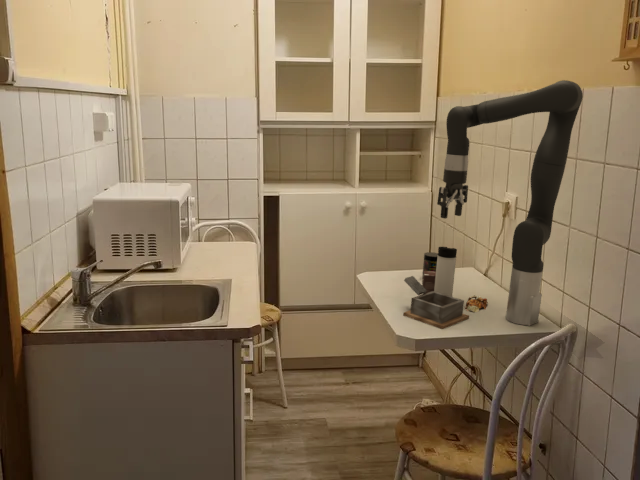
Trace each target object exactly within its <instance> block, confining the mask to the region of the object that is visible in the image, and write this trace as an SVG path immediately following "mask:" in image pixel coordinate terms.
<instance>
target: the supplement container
mask: <svg viewBox="0 0 640 480" xmlns="http://www.w3.org/2000/svg"><path fill="white" fill-rule="evenodd" d="M437 257H438V252H431V251H430V252H424V253H423V263H422V264H423V265H422V274H421V279H422V280H423V271H434V272H436V267H437Z"/></svg>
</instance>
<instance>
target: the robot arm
mask: <svg viewBox="0 0 640 480" xmlns="http://www.w3.org/2000/svg"><path fill="white" fill-rule="evenodd" d="M583 95H584V94H583V90H582V88H581V86H580V85H579V84H578V83H576V82H574V81H571V80H568V79H567V80H565V79H562V80H559V81H556V82H555V83H552V84H549V85H547V86H543V87H541V88H539V89H537V90H533V91H529V92H525V93H521V94H517V95H510V96H505V97H499V98H495V99H489V100H484V101H482V102H479V103H478V104H473V105H467V106H466V105H465V106H459V105H458V106H454V107H452V108H451V109H450V110H449V112H448V113H447V117H446V136H447V145H446V146H447V147H446V154H445V159H444V167H443V168H444V169H443V177H442V178H443V179H442V181H443V183H445V187H443V186H439V188H438V196H437V203H436V204H437V205H438V206H440V218H441V219H448V216H449V215H448V214H449V206H450V204H451V203H452V202H453V201H455V208H454V215H455V216H457V217H461V216H462V212H463V206H464V204H465V203H467V202H468V194H469V193H468V192H469V191H468V190H469V186H468V185H467V184H466V183H467V177H468V171H469V170H468V168H469V153H470V138H468V136H467V134H468V129H469V128H473V127H477V126H480V125H485V124H486V125H487V124H493V123H497V122H498V123H499V122H503V121H507V120H511V119H515V118H519V117H522V116H526V115H530V114H535V113H538V114H539V113H549V115H548V120H547V124H546V129H545V130H544V134H543V136H542V138H541V140H540V142H539V145H538V146H537V149H536V152H535V155H534V159H533V162H532V167H531V171H530V172H531V173H530V193H531V194H530V195H531V198H530V206H529V208H528V213H527V216H526V218H525V220H523V221H521V222H519V224H517V225H516V227H515V228H514V232H513V236H512V245H511V246H512V247H511V261H512V266H511V275H510V281H509V282H510V283H509V290H508V296H507V297H508V298H507V305H506V313H505V319H506V320H507V321H508V322H510V323H514V324H516V325H517V324H518V325H522V326H523V325H525V326H529V327H530V326H532V325H534V324H536V323H538V322H539V319H540V318H539V317H540V311H541V304H542V297H543V295H542V293H540V291H541V285H542V284H541V283H542V280H543V279H542V278H543V271H544V262H543V260H542V254H543V246H544V245H545V244H547V242H548V241H549V240H550V237H551V236H552V235H551V234H552V229H553V227H552V225H553V217H554V210H555V206H556V202H557V199H558V195H559V192H560V187H561V184H562V182H563V181H562V180H563V178H564V173H565V169H566V165H567V161H568V155H569V150H570V143H571V137H572V132H573V127H574V124H575V122H576V119H577V115H578V114H579V113H578V112H579V110H580V107H581V105H582V101H583Z"/></svg>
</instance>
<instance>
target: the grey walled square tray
mask: <svg viewBox="0 0 640 480" xmlns="http://www.w3.org/2000/svg"><path fill="white" fill-rule="evenodd" d="M410 302H411V303H410V309H409V310H407V311H404V312H402V313H403V316H404V317H406V318H409V319H413V320H414V321H417V322H421V323H424V324H427V325H429V326H432V327H435V328H438V329H441V330H444V329H446V328H450V327H451V326H454V325H457V324H459V323H461V322H463V321H467V320H468V319H470V315H469V314H467V313H464V312H463V311H464V305H465V300H464V299H460V298H457V297H453V296H452V297H451V296H448V295H444V294H441V293H438V292H434V291H432V292H429V293H425V294H421V295H417V296H414V297H411V300H410Z"/></svg>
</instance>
